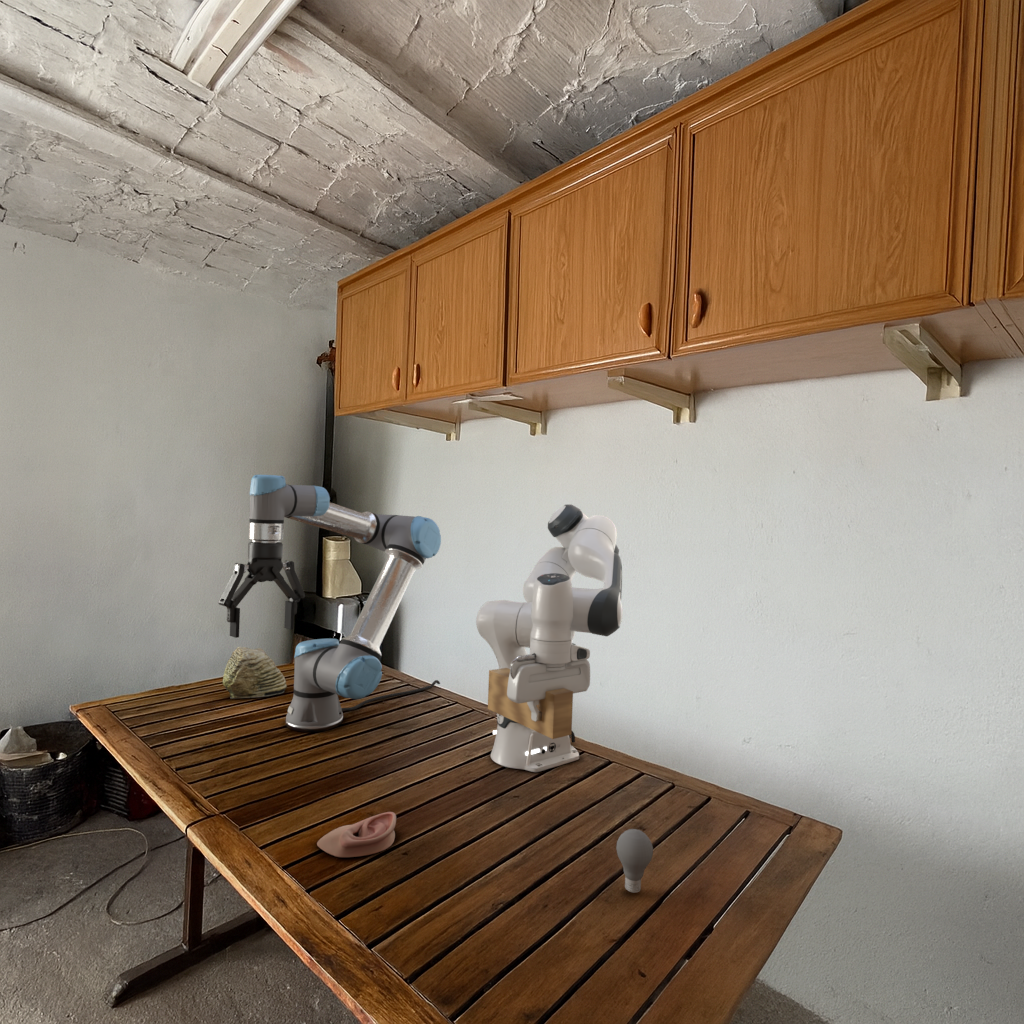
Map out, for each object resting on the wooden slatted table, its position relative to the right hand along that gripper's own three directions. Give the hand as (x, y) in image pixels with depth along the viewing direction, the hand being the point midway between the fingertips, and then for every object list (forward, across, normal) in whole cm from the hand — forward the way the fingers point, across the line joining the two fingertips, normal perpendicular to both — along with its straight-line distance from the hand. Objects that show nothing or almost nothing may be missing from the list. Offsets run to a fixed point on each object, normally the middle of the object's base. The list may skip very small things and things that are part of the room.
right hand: (548, 717), depth 133 cm
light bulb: (+20, -6, -30) cm, 36 cm away
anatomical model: (+19, -38, +9) cm, 44 cm away
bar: (+3, 0, +7) cm, 7 cm away
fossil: (+16, -31, +105) cm, 111 cm away
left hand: (-13, -44, +51) cm, 69 cm away
